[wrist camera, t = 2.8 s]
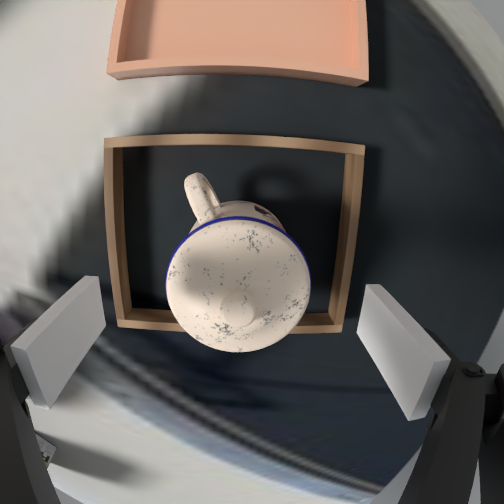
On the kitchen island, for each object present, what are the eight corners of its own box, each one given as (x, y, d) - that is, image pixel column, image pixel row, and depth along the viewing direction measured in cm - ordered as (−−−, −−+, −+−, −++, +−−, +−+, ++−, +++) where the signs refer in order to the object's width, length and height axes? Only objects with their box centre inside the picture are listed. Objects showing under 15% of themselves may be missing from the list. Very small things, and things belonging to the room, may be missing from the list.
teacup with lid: (304, 272, 28) (343, 344, 17) (214, 310, 29) (203, 396, 18) (251, 147, 25) (261, 141, 14) (153, 194, 26) (96, 224, 15)
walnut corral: (125, 314, 29) (118, 326, 27) (115, 139, 24) (104, 138, 22) (334, 319, 30) (341, 332, 28) (354, 145, 25) (364, 145, 23)
